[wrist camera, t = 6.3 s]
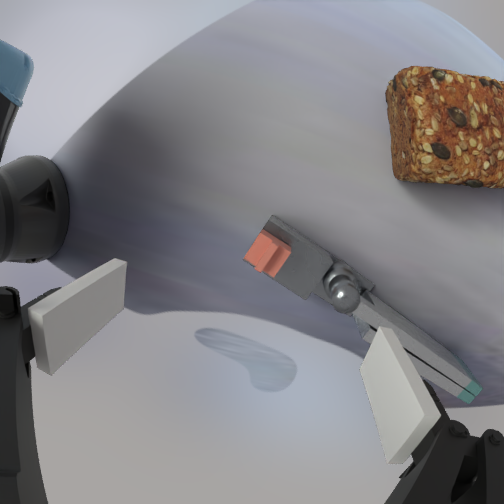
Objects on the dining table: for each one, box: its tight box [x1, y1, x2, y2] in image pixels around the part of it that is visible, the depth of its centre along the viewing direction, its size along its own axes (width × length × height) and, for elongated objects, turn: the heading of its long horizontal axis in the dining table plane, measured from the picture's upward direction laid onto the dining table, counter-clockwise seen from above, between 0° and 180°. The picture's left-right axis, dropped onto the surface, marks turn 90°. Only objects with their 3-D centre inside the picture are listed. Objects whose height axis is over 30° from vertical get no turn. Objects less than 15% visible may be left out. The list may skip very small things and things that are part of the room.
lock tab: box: [244, 229, 291, 278], centre depth 26 cm, size 3×3×3 cm
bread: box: [385, 66, 504, 188], centre depth 21 cm, size 19×11×10 cm, turn 94°
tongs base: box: [243, 215, 476, 404], centre depth 28 cm, size 31×4×7 cm, turn 58°
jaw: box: [328, 274, 483, 396], centre depth 28 cm, size 23×2×7 cm, turn 58°
